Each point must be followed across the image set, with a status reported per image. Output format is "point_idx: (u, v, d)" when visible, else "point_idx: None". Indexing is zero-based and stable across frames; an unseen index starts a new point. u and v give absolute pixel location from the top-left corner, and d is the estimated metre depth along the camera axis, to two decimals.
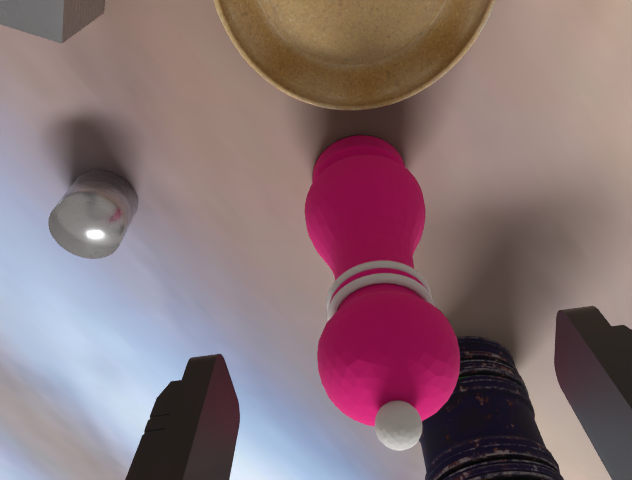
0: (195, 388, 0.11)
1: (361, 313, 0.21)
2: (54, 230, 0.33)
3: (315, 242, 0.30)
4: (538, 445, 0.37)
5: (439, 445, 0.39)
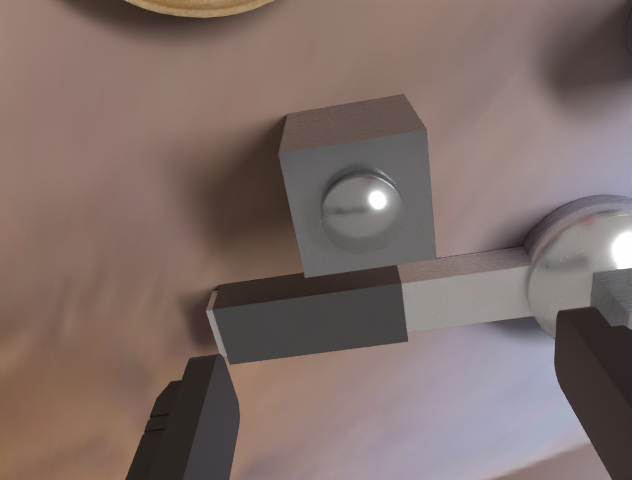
0: (195, 388, 0.11)
1: None
2: None
3: None
4: None
5: None
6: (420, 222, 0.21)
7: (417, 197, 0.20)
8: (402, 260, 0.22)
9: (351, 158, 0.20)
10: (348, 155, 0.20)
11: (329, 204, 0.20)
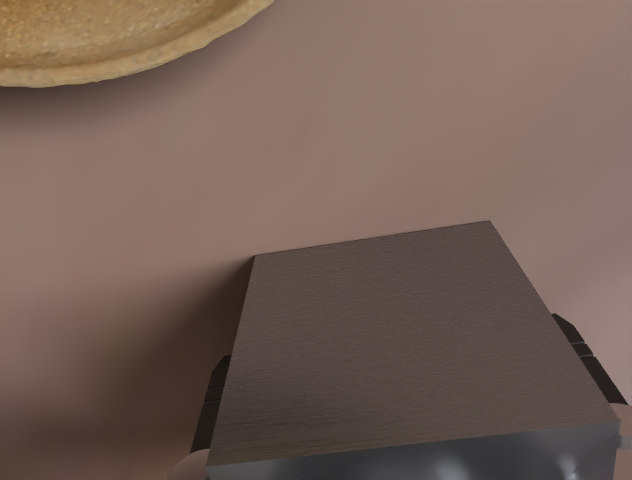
0: None
1: None
2: None
3: None
4: None
5: None
6: None
7: None
8: None
9: (403, 477, 0.07)
10: (395, 471, 0.07)
11: None
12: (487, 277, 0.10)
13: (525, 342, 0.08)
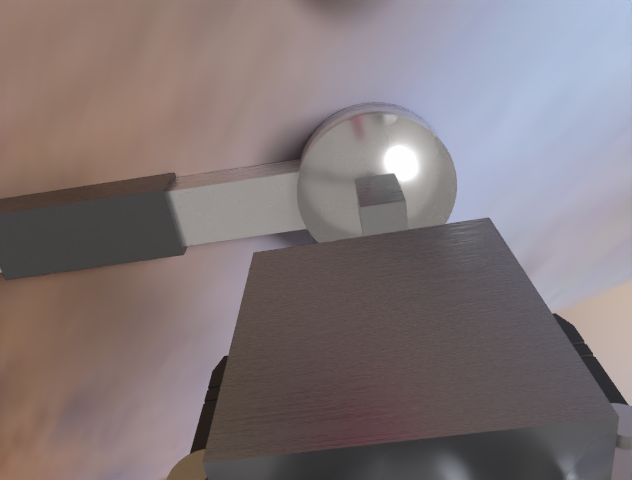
0: None
1: None
2: None
3: None
4: None
5: None
6: None
7: None
8: None
9: (400, 474, 0.07)
10: (392, 468, 0.07)
11: None
12: (486, 273, 0.10)
13: (523, 338, 0.08)
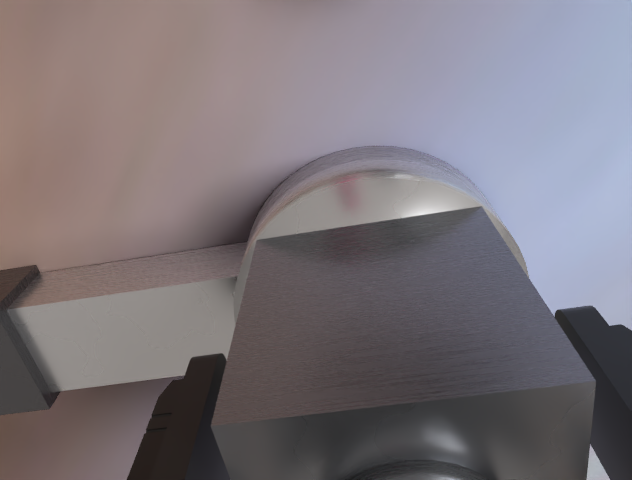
0: (197, 387, 0.11)
1: None
2: None
3: None
4: None
5: None
6: None
7: None
8: None
9: (395, 436, 0.08)
10: (387, 431, 0.08)
11: None
12: (477, 257, 0.11)
13: (510, 314, 0.09)
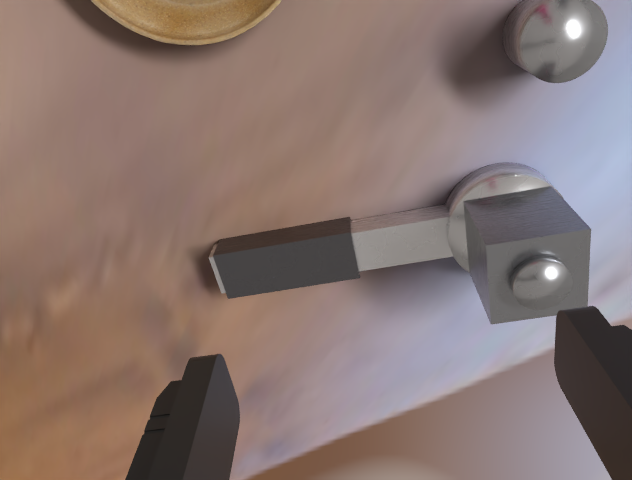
0: (195, 388, 0.11)
1: None
2: (574, 72, 0.29)
3: None
4: None
5: None
6: (579, 287, 0.30)
7: (578, 271, 0.30)
8: None
9: (536, 247, 0.29)
10: (534, 245, 0.29)
11: (521, 279, 0.29)
12: (552, 202, 0.32)
13: (566, 216, 0.30)
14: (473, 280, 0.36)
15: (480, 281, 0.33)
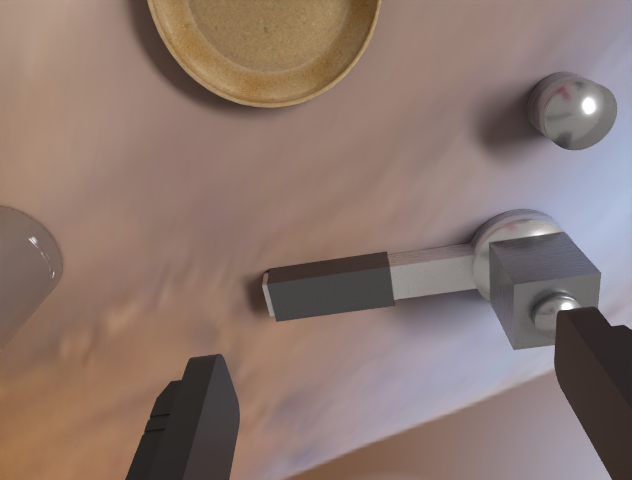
0: (195, 388, 0.11)
1: None
2: (588, 142, 0.35)
3: None
4: None
5: None
6: None
7: None
8: None
9: (555, 287, 0.35)
10: (553, 285, 0.35)
11: (542, 313, 0.35)
12: (566, 247, 0.37)
13: (579, 261, 0.36)
14: (495, 310, 0.41)
15: (504, 312, 0.38)
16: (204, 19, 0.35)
